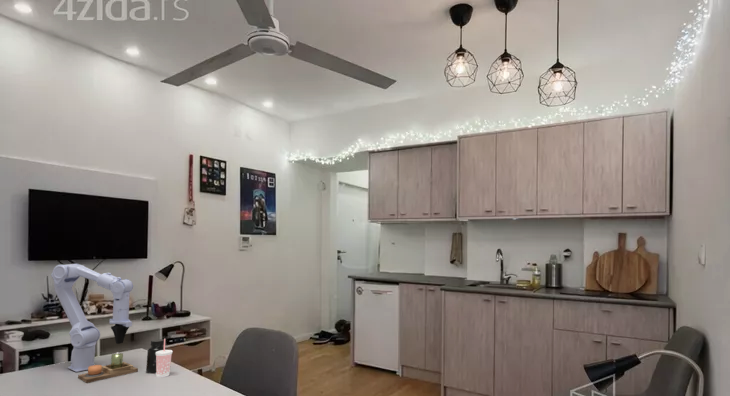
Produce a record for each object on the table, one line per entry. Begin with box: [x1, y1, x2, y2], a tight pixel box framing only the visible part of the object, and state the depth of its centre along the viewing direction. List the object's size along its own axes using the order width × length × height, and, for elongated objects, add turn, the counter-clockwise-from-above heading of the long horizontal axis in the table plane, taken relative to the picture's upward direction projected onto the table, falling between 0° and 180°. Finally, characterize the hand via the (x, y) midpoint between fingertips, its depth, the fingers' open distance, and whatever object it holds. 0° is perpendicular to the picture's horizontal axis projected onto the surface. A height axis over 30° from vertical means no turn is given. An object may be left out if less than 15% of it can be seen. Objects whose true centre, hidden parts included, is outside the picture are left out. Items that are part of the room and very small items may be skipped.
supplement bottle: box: [145, 338, 167, 374], centre depth 172 cm, size 7×7×12 cm
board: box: [77, 361, 139, 384], centre depth 166 cm, size 9×18×3 cm, turn 142°
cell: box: [110, 351, 124, 369], centre depth 168 cm, size 4×4×7 cm
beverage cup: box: [155, 338, 174, 378], centre depth 166 cm, size 6×6×14 cm
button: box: [87, 364, 103, 375], centre depth 162 cm, size 4×4×2 cm
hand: (119, 343), depth 174 cm, fingers closed
